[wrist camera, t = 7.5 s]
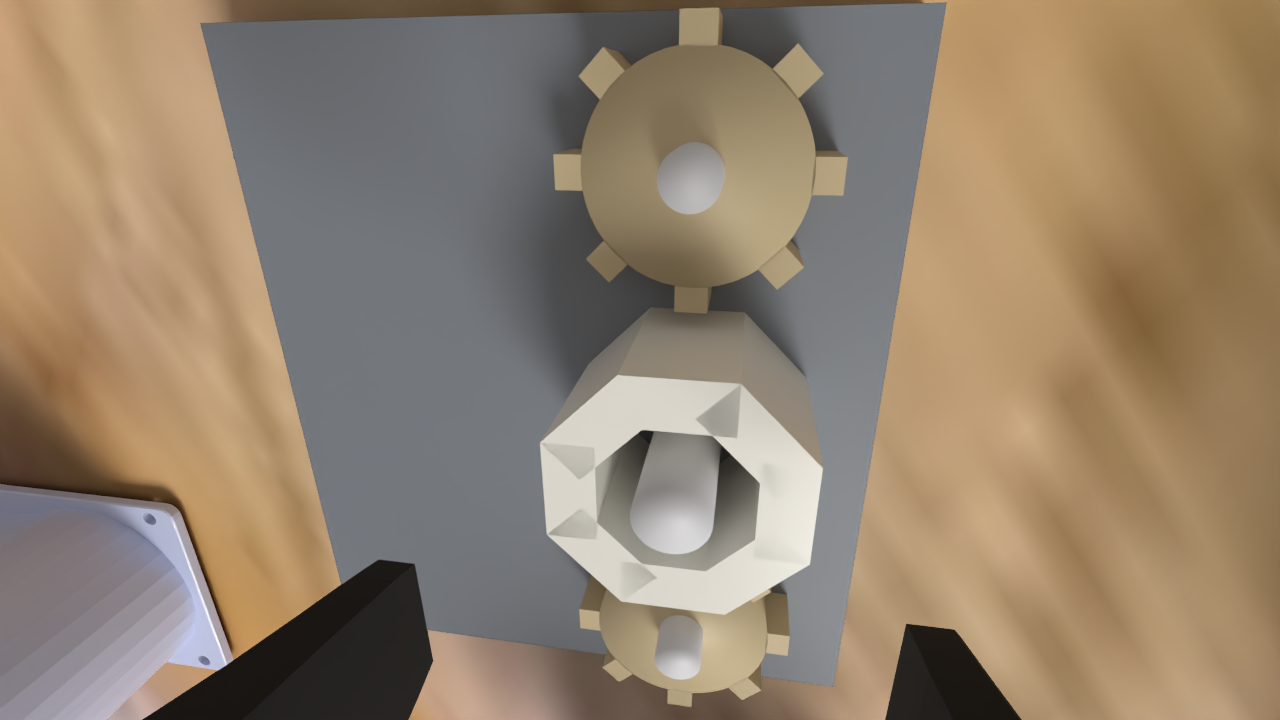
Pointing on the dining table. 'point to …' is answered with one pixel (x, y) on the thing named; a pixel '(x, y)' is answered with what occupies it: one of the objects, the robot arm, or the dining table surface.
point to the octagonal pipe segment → (691, 404)
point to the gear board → (576, 284)
